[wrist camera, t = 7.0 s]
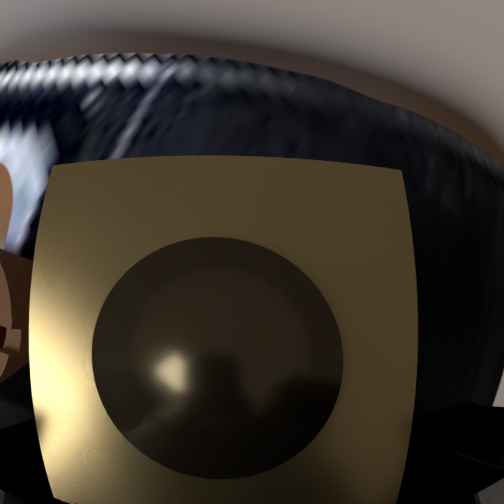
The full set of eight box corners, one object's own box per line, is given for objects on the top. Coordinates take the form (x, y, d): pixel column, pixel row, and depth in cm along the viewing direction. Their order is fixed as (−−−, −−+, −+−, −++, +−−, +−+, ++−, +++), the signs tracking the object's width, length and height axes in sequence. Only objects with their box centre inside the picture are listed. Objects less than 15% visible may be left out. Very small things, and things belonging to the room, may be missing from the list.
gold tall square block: (275, 371, 15) (397, 512, 2) (186, 370, 14) (50, 500, 2) (275, 284, 16) (404, 166, 3) (187, 282, 15) (49, 161, 3)
